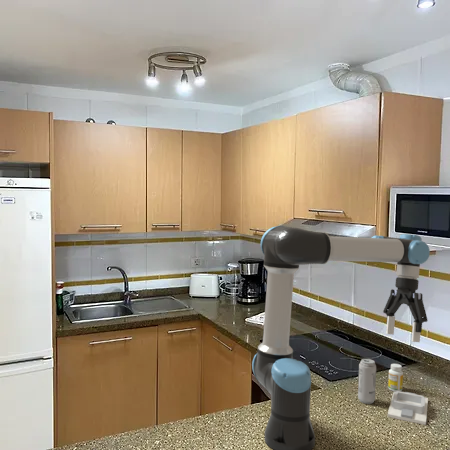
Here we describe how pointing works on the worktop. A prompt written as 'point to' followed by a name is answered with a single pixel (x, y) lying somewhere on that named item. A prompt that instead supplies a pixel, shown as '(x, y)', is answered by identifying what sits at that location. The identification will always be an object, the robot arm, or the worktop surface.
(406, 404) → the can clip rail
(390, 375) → the supplement bottle
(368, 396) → the energy drink can
